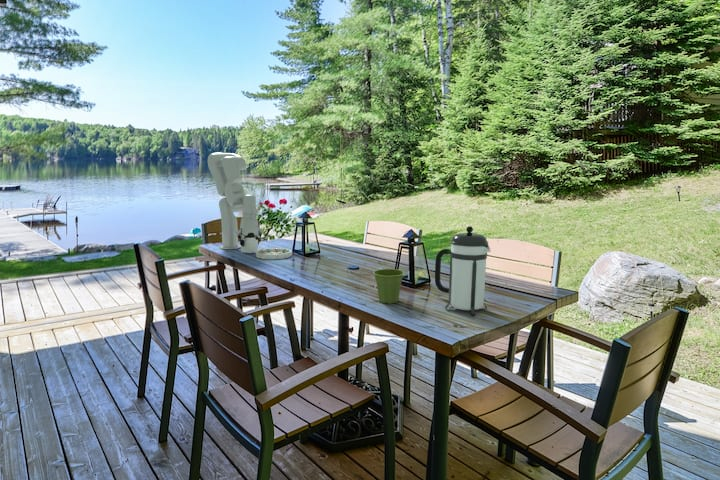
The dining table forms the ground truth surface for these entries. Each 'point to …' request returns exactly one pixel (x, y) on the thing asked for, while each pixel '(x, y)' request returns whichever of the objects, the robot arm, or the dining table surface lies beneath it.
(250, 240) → the medicine bottle
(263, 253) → the tray
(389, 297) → the plant pot
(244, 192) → the robot arm
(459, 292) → the coffee press
